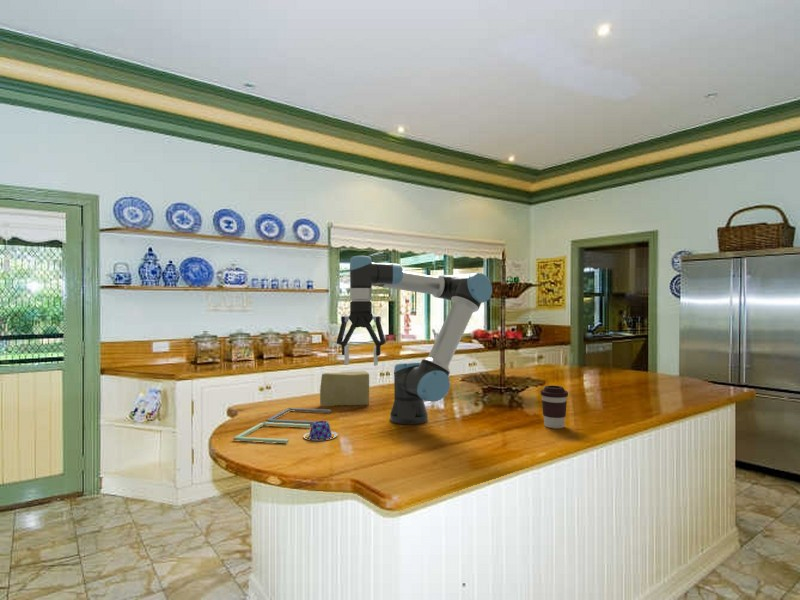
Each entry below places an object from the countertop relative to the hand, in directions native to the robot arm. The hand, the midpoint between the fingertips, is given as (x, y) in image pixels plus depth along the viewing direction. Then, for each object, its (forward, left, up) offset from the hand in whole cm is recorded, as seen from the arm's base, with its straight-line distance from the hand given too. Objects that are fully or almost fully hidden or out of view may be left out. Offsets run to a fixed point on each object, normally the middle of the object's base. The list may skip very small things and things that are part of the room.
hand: (361, 364), depth 161 cm
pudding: (+15, 0, -26) cm, 30 cm away
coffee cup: (-68, -28, -26) cm, 78 cm away
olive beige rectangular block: (+22, -50, -26) cm, 61 cm away
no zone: (+32, -24, -26) cm, 47 cm away
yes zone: (+32, 0, -26) cm, 41 cm away
